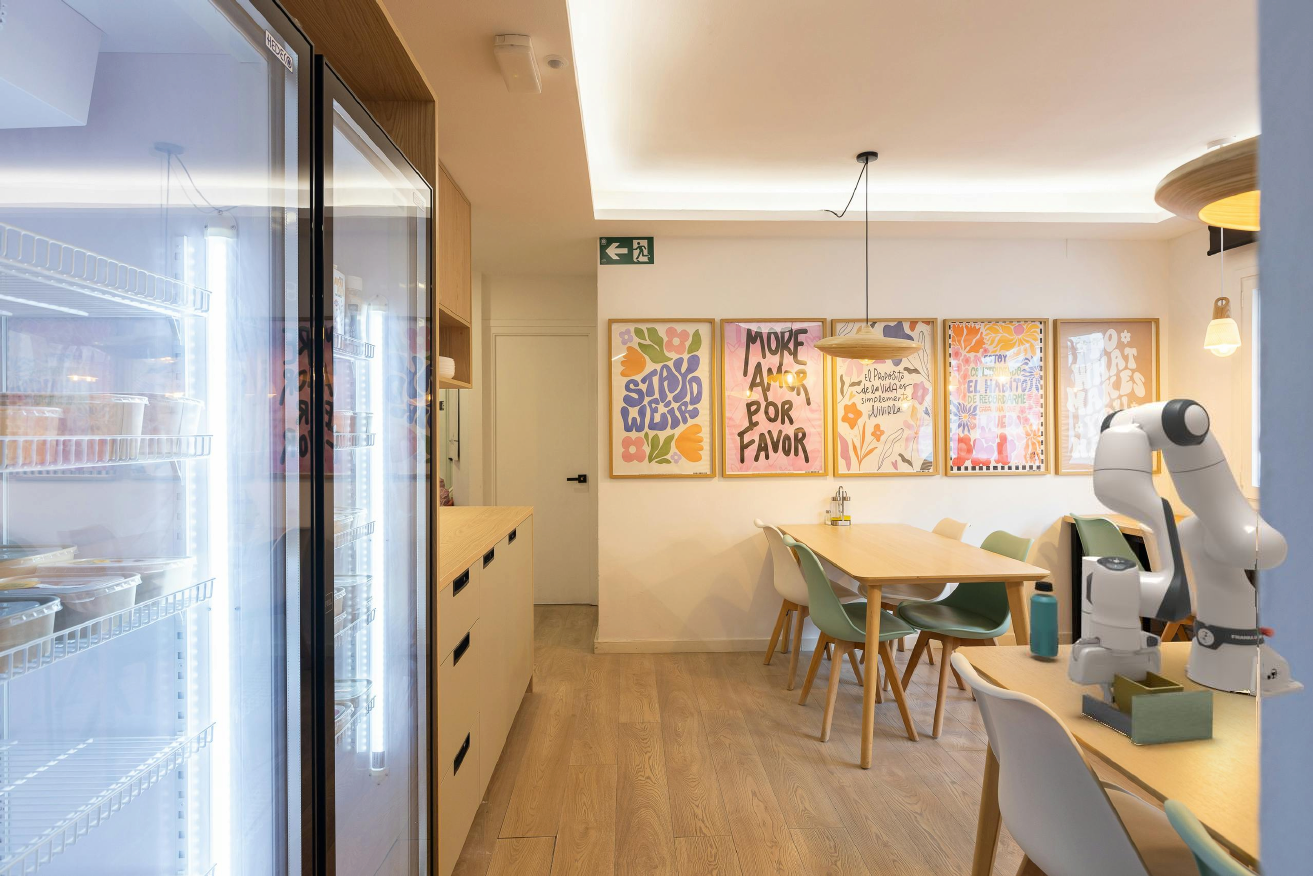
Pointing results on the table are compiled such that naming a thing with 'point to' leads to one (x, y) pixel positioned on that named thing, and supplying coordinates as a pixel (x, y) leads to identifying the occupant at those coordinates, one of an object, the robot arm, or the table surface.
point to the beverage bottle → (1044, 621)
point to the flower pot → (1141, 689)
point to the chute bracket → (1158, 716)
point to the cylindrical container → (1086, 605)
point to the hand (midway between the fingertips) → (1113, 702)
